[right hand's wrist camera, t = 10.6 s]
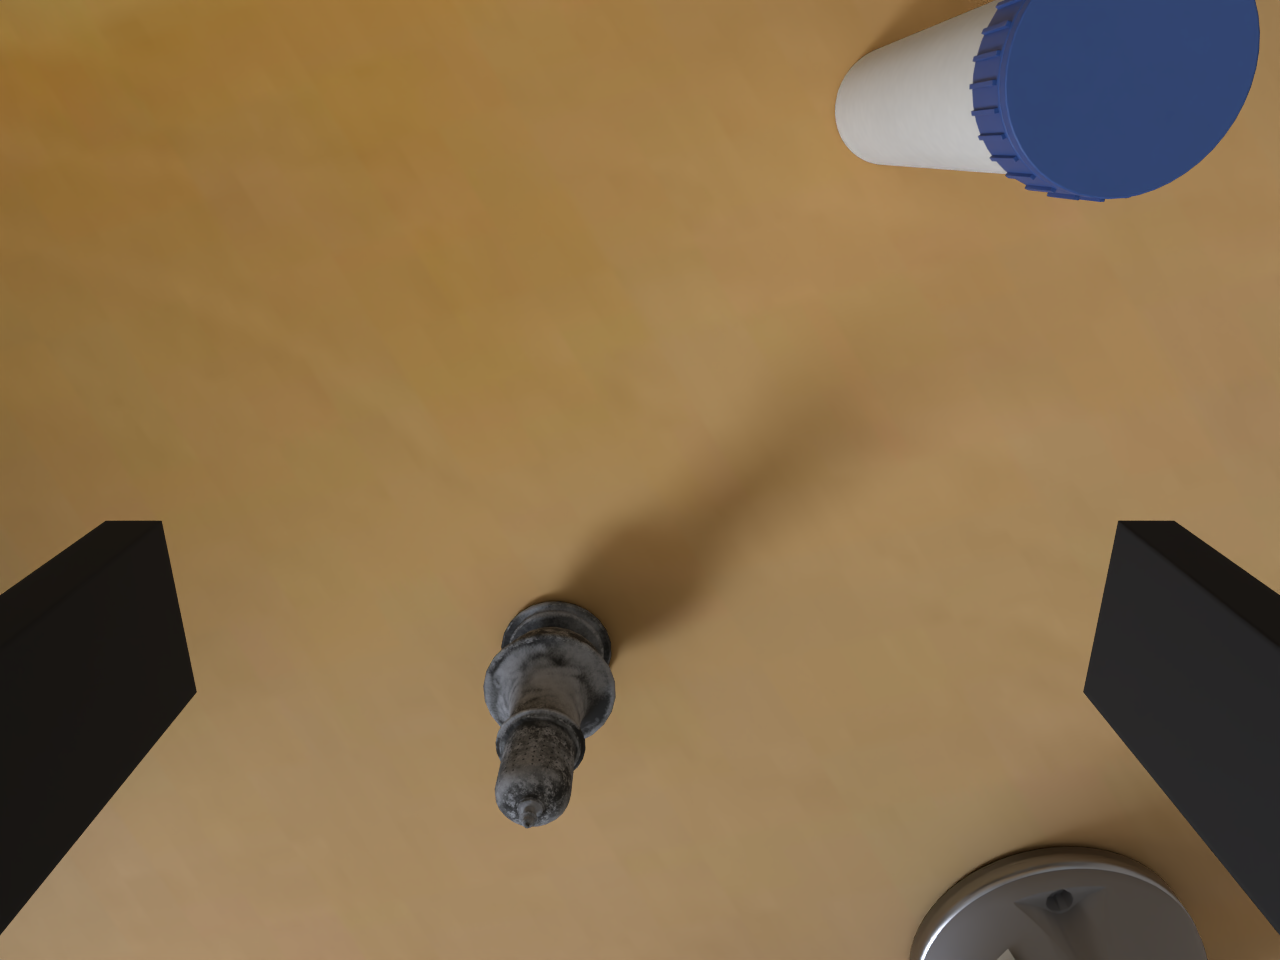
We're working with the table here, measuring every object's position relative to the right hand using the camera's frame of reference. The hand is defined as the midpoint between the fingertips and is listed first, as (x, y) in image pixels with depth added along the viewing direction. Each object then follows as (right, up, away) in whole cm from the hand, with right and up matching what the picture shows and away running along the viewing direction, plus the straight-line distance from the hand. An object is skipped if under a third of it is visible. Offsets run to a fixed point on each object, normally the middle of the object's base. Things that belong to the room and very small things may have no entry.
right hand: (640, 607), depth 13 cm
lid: (+10, +10, +6) cm, 15 cm away
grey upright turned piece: (-4, -6, +31) cm, 32 cm away
